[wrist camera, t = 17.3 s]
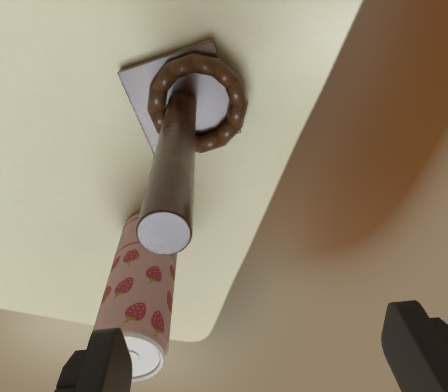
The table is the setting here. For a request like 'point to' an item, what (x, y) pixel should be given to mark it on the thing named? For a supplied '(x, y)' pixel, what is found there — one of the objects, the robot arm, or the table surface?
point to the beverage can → (139, 301)
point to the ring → (205, 67)
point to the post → (174, 145)
